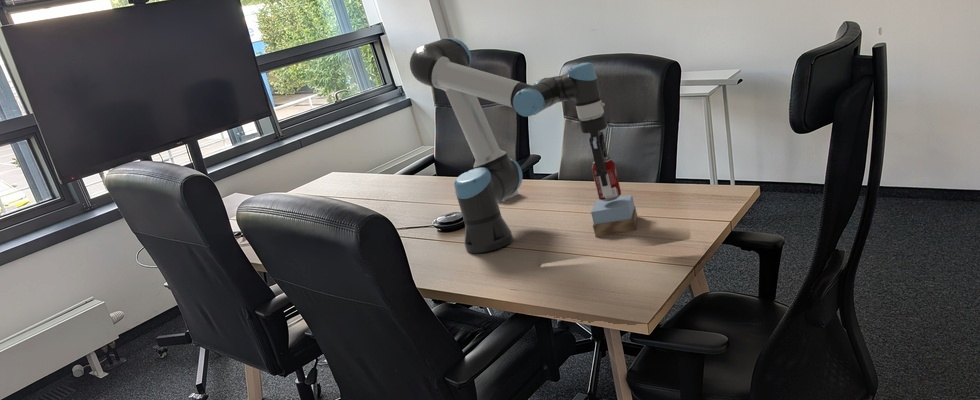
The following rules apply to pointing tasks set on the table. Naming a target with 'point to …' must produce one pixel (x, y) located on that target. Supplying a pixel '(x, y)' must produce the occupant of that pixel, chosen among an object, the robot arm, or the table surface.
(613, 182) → the soda can
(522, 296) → the table surface
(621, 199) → the top block
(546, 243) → the table surface
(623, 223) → the base block
